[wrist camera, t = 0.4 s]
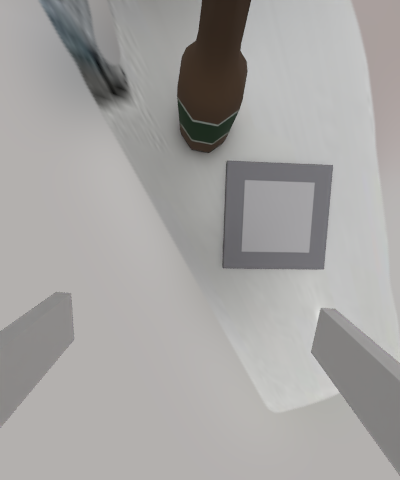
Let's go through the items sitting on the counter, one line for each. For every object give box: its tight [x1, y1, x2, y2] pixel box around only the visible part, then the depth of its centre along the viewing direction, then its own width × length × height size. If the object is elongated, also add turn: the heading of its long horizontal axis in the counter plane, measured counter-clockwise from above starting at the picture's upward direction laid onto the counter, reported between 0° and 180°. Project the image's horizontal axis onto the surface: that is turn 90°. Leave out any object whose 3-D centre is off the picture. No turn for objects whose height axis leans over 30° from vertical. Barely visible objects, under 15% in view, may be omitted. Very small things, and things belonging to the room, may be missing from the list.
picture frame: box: [223, 161, 333, 269], centre depth 36 cm, size 18×18×1 cm
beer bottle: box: [177, 0, 251, 153], centre depth 23 cm, size 8×8×24 cm
